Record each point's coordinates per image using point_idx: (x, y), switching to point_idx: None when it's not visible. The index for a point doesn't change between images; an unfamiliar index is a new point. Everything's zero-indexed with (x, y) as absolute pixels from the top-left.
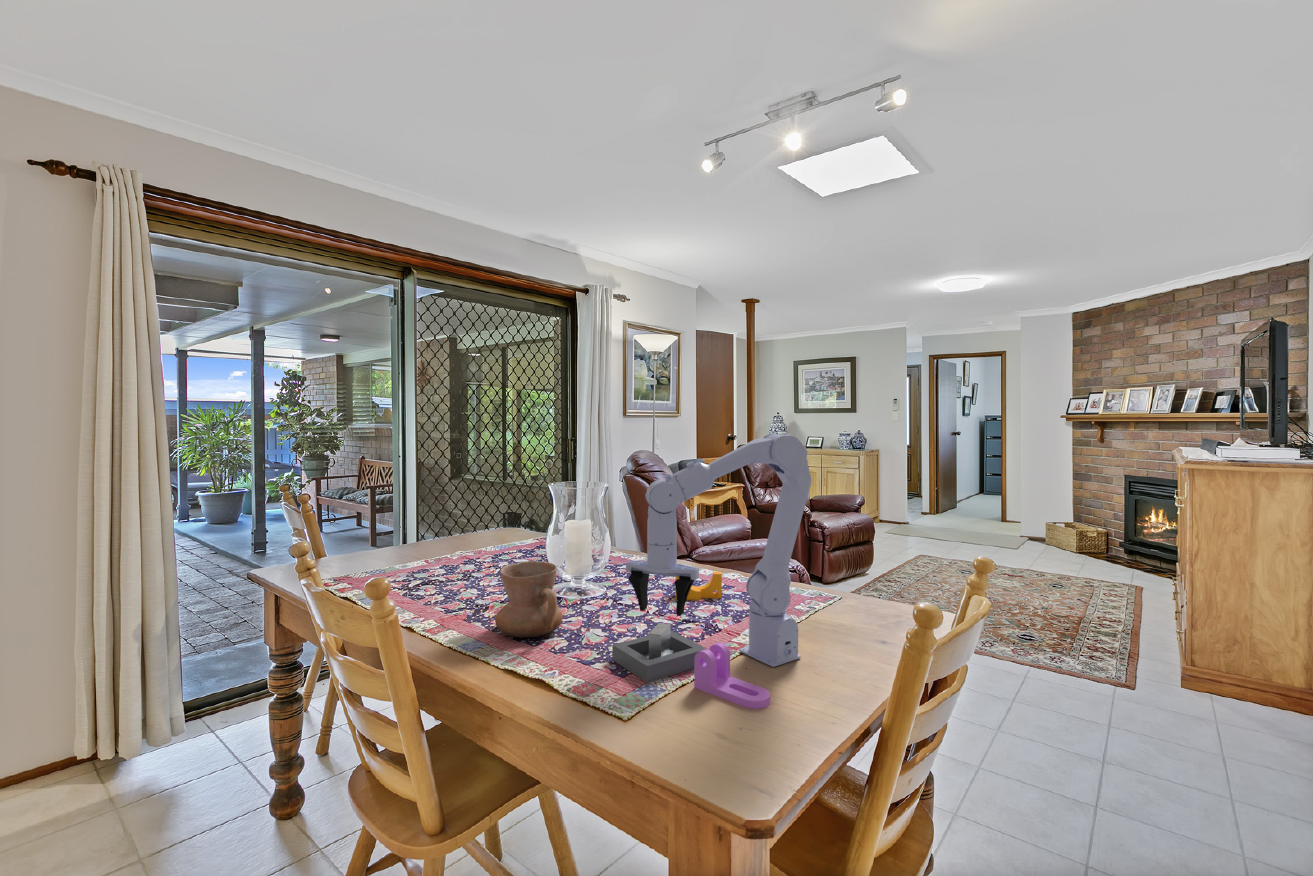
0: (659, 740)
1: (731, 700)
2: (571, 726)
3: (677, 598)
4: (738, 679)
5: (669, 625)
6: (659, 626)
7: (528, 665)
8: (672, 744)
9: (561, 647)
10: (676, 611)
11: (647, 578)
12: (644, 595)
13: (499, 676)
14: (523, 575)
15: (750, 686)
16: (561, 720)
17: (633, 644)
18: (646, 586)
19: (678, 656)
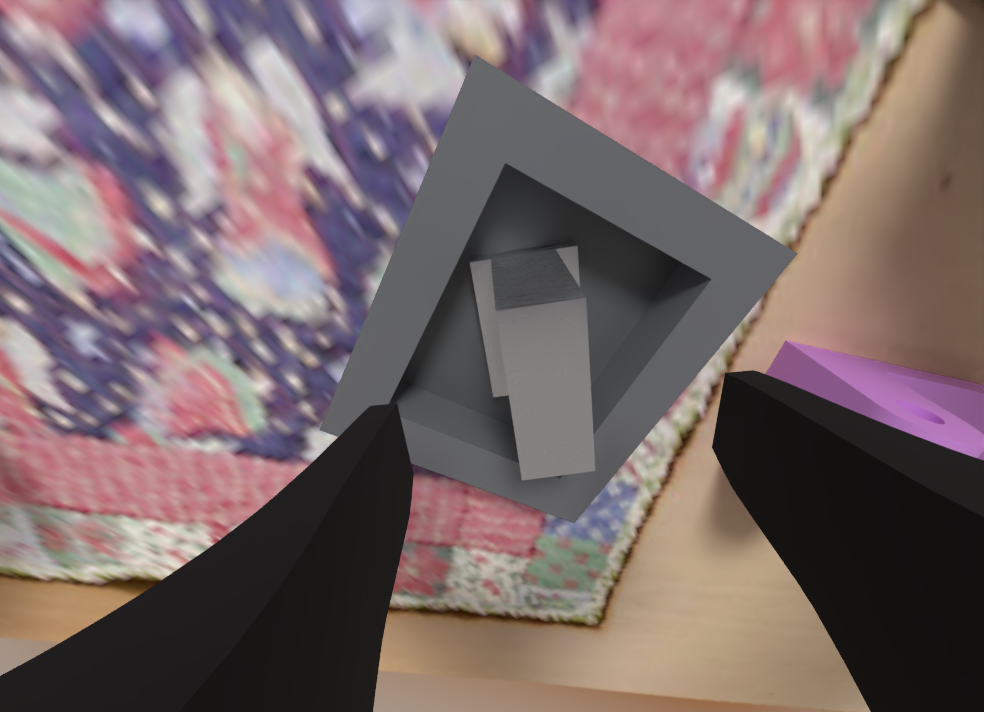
0: (696, 645)
1: None
2: (499, 673)
3: (830, 617)
4: (915, 380)
5: (587, 322)
6: (532, 372)
7: (137, 540)
8: (727, 644)
9: (59, 384)
10: (733, 485)
11: (259, 700)
12: (370, 541)
13: None
14: None
15: (958, 410)
16: (465, 668)
17: (400, 378)
18: (324, 586)
19: (665, 405)
